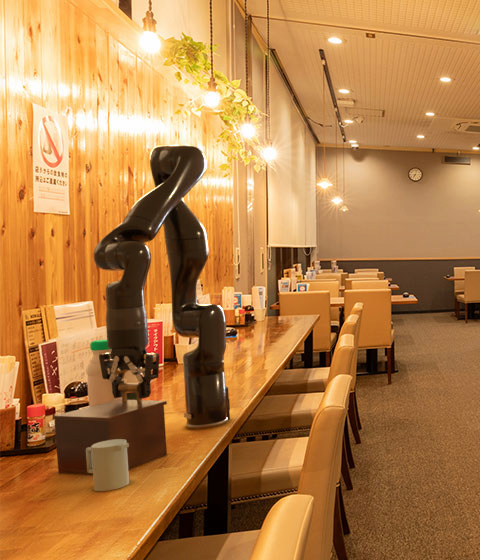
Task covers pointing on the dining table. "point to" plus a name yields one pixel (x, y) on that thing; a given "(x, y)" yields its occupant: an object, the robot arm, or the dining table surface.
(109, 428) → the chest
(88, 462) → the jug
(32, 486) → the dining table surface
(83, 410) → the lid
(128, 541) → the dining table surface
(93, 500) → the dining table surface
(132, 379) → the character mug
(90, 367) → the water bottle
